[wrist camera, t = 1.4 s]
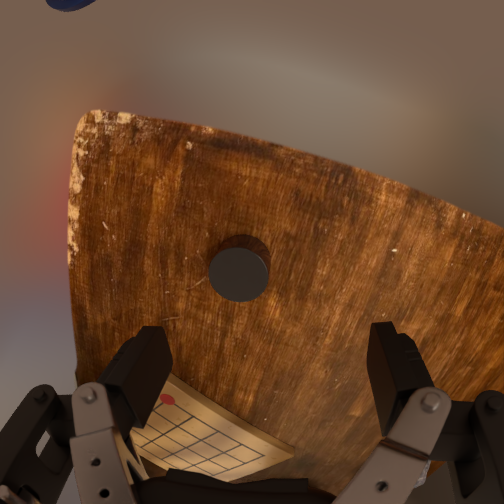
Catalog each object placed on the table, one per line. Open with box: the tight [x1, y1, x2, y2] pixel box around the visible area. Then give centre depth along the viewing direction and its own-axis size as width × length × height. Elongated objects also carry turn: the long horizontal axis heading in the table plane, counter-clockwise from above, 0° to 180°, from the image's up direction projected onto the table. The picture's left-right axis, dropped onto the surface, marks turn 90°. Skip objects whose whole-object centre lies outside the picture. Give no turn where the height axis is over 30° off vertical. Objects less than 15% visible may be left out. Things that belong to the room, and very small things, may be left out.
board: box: [130, 372, 295, 482], centre depth 39 cm, size 22×22×2 cm
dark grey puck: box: [209, 235, 271, 302], centre depth 26 cm, size 5×5×3 cm
